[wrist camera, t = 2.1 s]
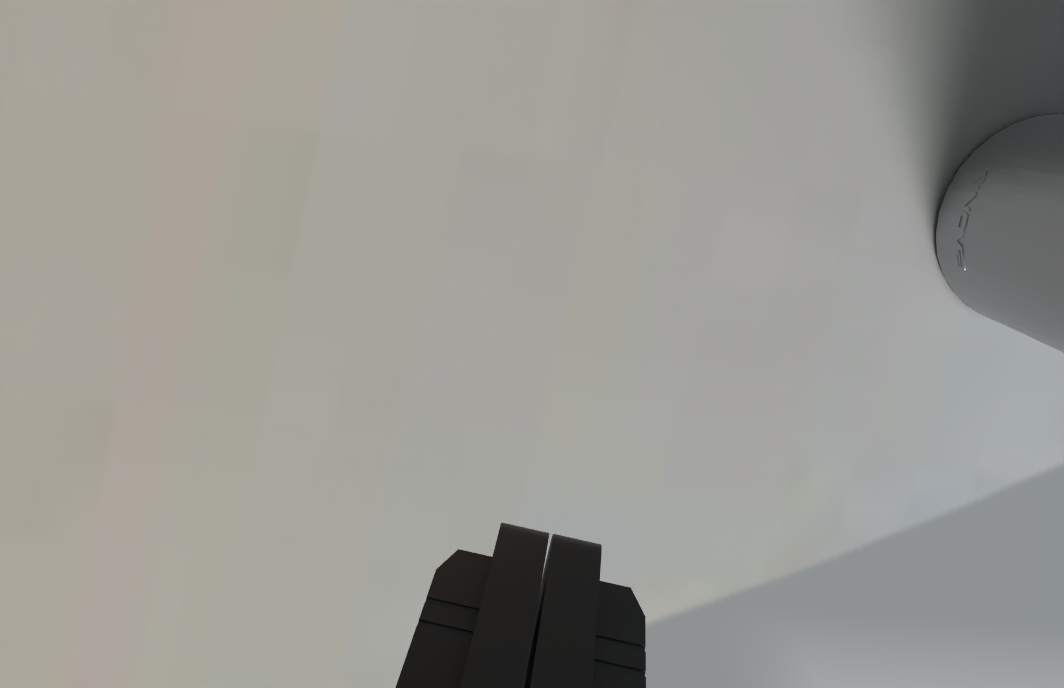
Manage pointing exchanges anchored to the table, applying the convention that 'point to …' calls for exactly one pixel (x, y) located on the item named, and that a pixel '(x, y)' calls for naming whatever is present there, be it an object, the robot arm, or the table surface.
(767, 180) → the table surface
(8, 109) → the table surface
